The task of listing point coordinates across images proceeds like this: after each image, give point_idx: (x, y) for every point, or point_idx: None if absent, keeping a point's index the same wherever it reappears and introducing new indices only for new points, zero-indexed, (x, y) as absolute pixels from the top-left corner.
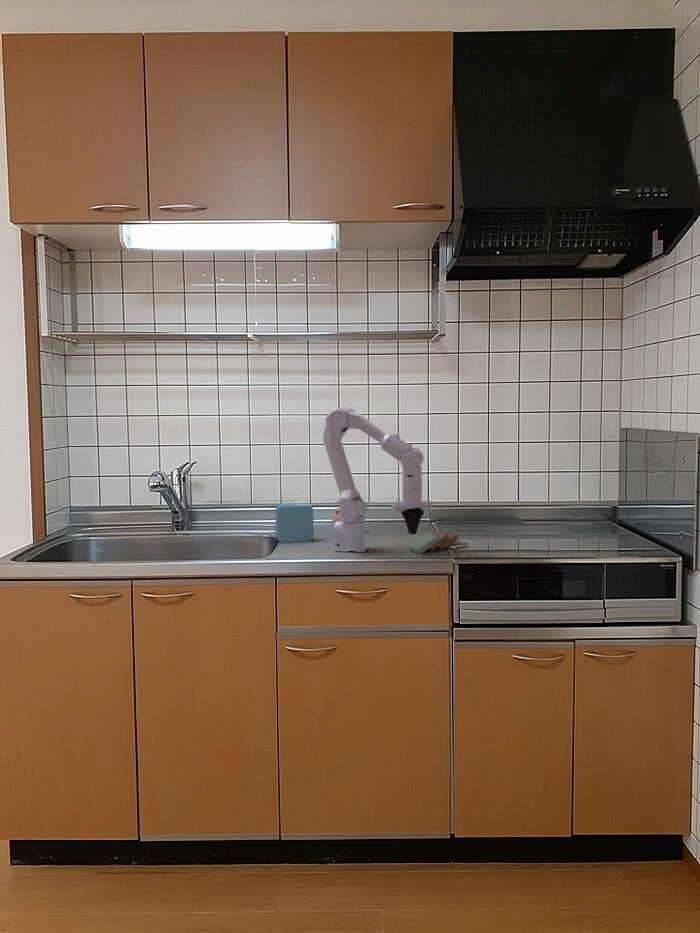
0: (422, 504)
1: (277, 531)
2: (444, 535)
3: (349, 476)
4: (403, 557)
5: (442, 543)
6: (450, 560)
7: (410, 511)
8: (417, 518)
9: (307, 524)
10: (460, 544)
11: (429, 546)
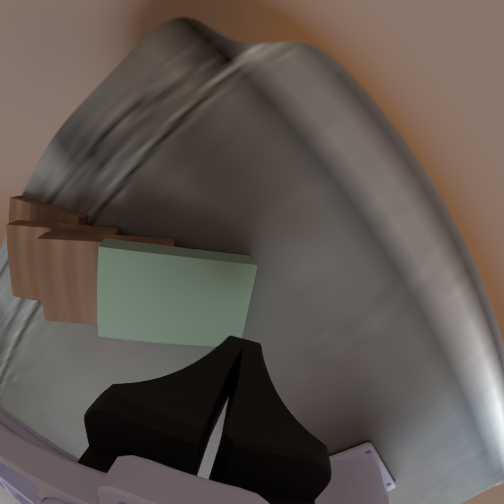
0: (66, 486)
1: None
2: (55, 241)
3: None
4: (375, 275)
5: (92, 233)
6: (282, 46)
7: (268, 501)
8: (211, 394)
9: None
10: (32, 203)
11: (180, 249)
